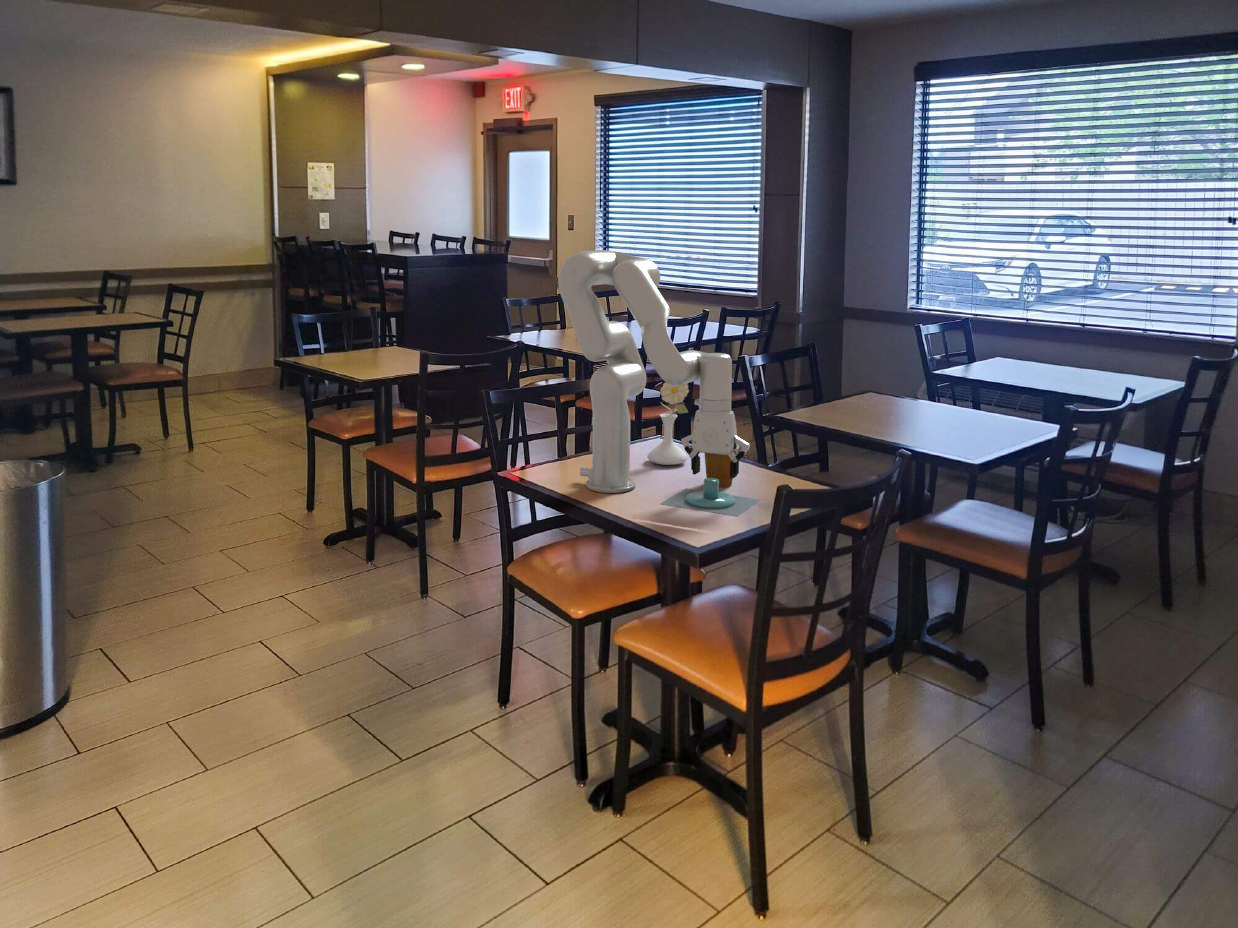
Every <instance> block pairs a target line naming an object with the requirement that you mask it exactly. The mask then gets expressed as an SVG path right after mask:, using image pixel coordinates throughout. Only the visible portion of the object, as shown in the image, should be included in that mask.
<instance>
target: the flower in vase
mask: <svg viewBox="0 0 1238 928" xmlns="http://www.w3.org/2000/svg"><path fill="white" fill-rule="evenodd" d="M689 392H690V390H689V383H686V384H683V385H679V386H673V385H670V384H668V383H666V382H664V383H663V384H662V387H661V388H660V396H661V399H662V401H664V402H665V403H668V404H669V405H675V406H674V408H673V410H671V408H670V407H668V406H667V405H665V404H663V403H662V402H660V404H661V405H662V406H663V407H665V408H666V409H668V410H669V411H671V413H661V414H659V417H660V418H661V421H662V423H663V424H662V425H663V439H662V441H661V443H659V444H658V445H656V446H655V447H654V448H652V449H651V450H650V452H648V454H647V456H646V457H647V460H649V462H652V463H654V464H657V465H661V466H662V465H664V466H674V465H681V464H682V463H685V462H686V461H687V459H688V454H687V453H686V451H684V450H683V449H682V448H680V447H679V446H678V445H677V444H676V443H675V442H674V439H673V429H674V423H675V421H676V419H677V418H678V415H677V414H676V413H674V412H675V410H676V411H677V413H679V414H685V413H686V414H687V413H689V411H688V408H687V407H686V405H685V404H679V405H678V403H681V402H684V400H685V398H686V397H687V396H688V393H689Z"/></svg>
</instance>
